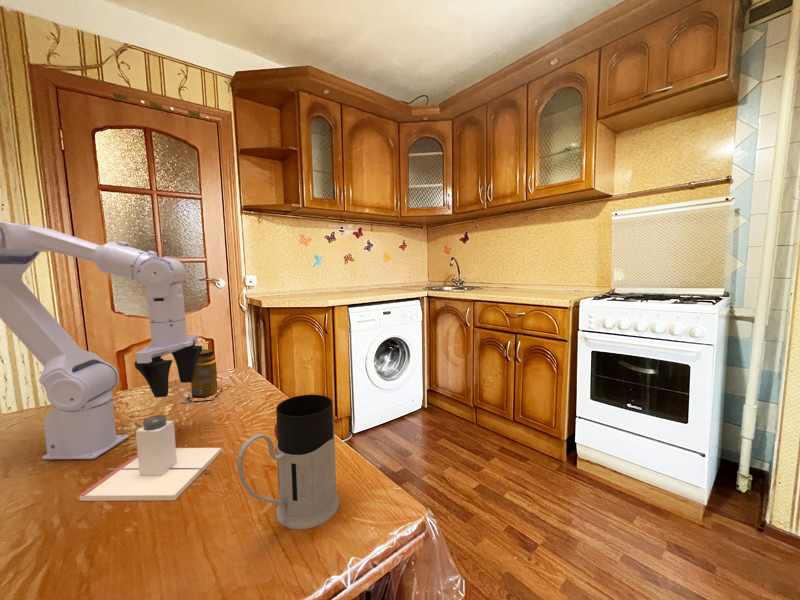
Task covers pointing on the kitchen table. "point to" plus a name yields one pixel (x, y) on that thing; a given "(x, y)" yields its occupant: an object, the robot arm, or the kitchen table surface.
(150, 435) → the white bottle
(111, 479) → the notepad
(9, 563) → the kitchen table surface
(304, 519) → the glass holder
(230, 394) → the kitchen table surface
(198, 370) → the condiment
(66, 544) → the kitchen table surface
